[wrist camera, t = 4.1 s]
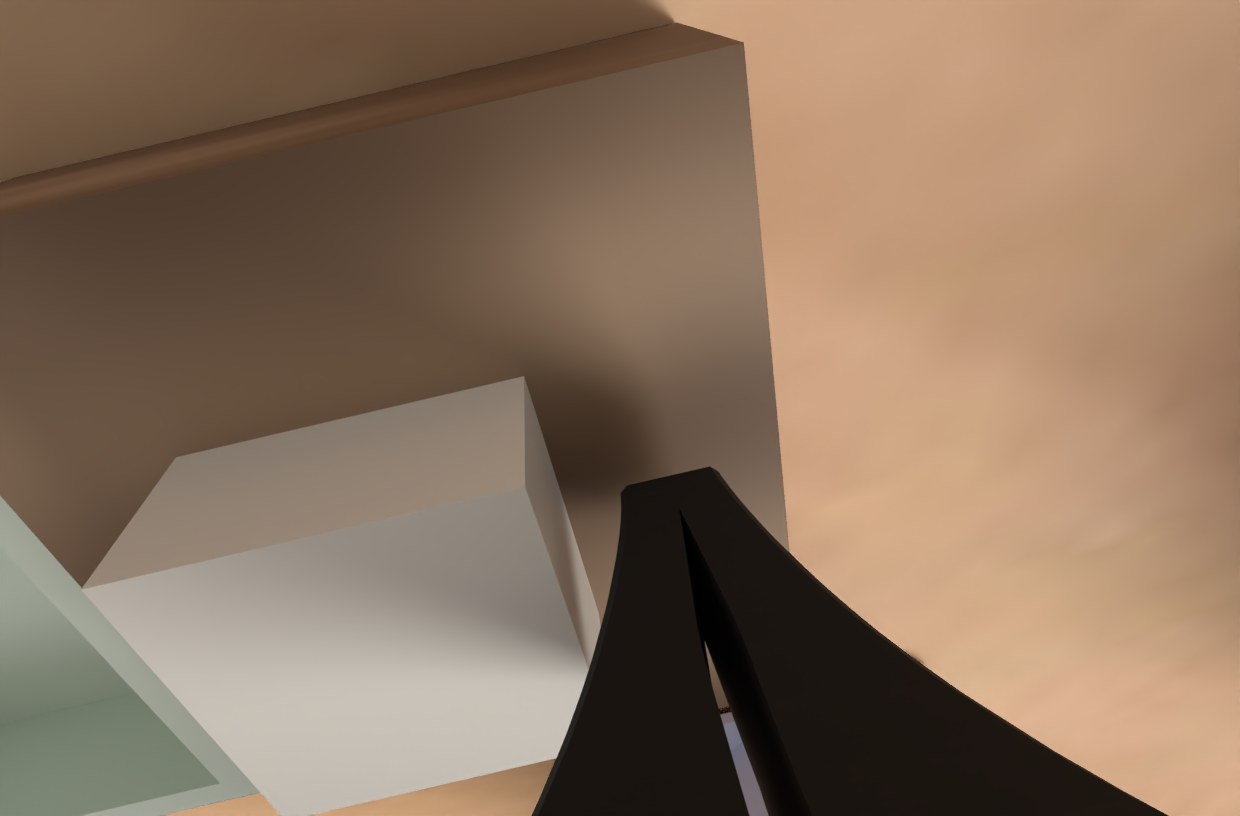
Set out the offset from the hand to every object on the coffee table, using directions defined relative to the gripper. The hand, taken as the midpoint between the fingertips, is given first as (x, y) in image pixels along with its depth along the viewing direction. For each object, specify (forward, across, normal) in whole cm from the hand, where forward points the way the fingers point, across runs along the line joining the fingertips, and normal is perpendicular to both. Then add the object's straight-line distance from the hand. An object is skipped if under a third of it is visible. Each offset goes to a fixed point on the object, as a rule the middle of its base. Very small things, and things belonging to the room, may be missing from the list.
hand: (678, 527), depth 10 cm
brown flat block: (+5, +4, 0) cm, 6 cm away
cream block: (+1, +4, 0) cm, 4 cm away
